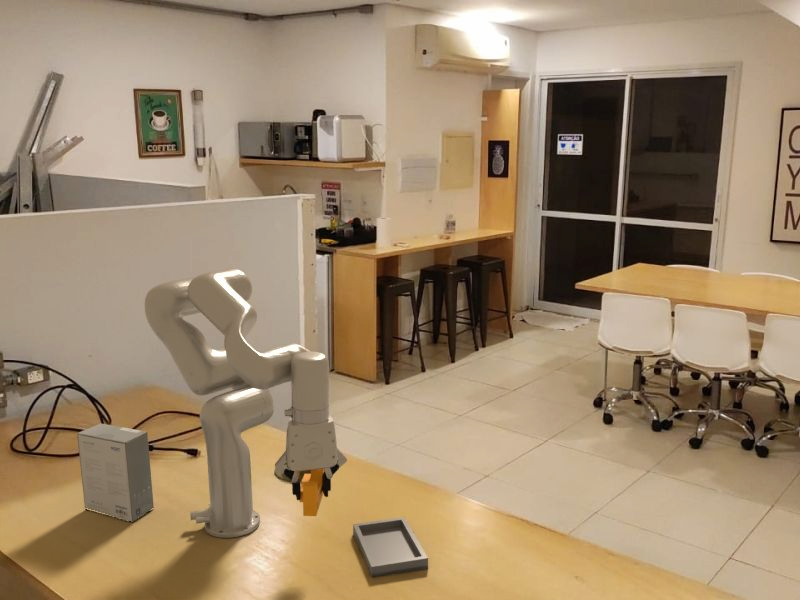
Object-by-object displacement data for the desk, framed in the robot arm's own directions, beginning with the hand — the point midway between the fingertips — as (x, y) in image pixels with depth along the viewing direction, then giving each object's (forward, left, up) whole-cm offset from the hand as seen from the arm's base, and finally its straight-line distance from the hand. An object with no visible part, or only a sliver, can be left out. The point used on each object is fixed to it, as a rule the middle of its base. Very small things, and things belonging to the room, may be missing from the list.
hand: (311, 494), depth 156 cm
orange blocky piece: (0, 0, -2) cm, 2 cm away
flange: (+4, +46, -16) cm, 48 cm away
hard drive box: (-42, +36, -15) cm, 57 cm away
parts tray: (+16, 0, -15) cm, 22 cm away
